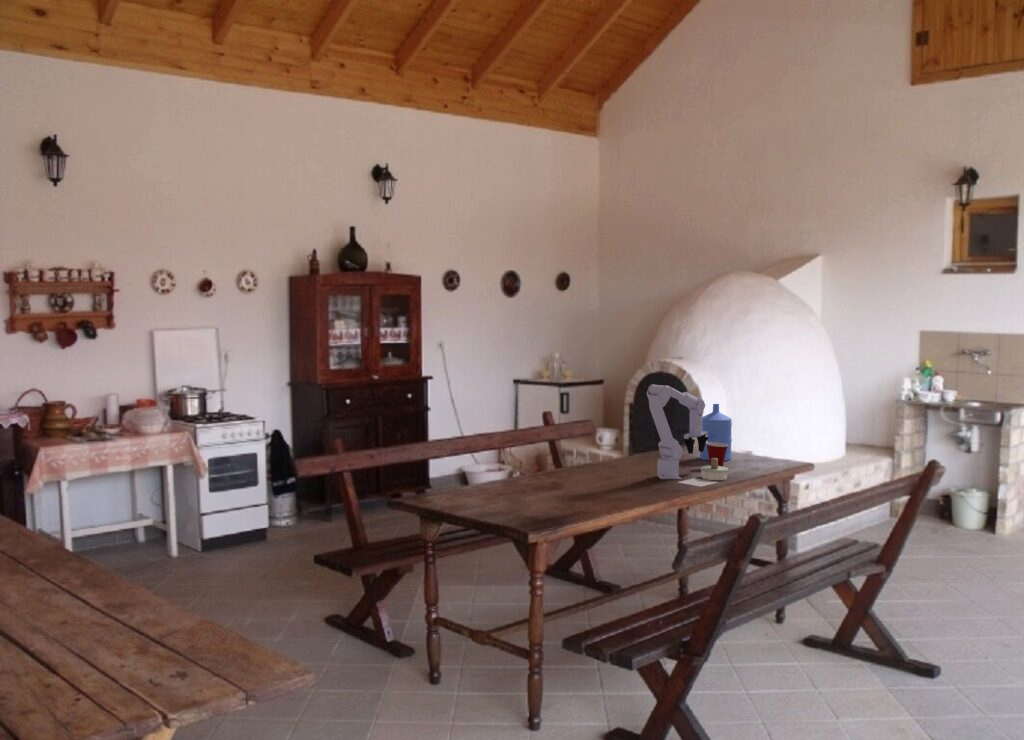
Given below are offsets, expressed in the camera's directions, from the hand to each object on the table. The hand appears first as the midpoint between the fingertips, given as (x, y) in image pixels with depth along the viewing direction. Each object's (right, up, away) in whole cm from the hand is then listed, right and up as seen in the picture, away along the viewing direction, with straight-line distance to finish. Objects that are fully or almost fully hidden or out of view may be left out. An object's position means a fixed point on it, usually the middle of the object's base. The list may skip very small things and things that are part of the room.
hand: (695, 452), depth 431 cm
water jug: (+18, -7, +38) cm, 42 cm away
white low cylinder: (+6, -11, -12) cm, 17 cm away
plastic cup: (+13, -9, +15) cm, 22 cm away
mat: (-3, -12, -21) cm, 25 cm away
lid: (+6, -8, -12) cm, 16 cm away
